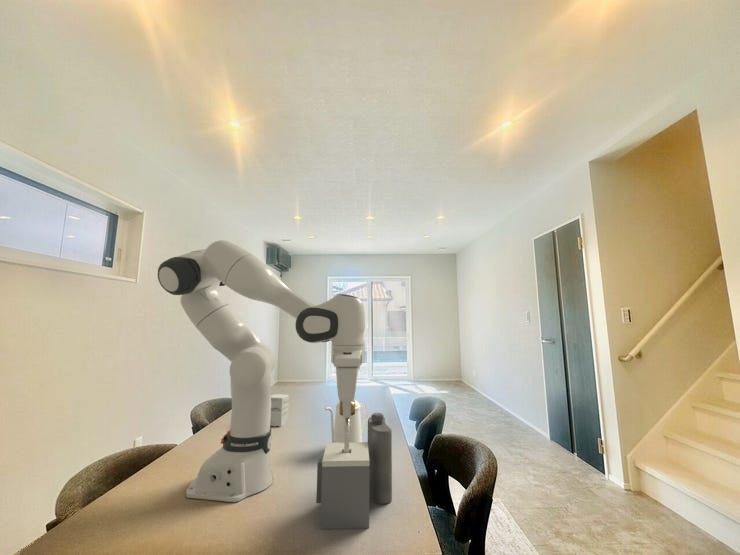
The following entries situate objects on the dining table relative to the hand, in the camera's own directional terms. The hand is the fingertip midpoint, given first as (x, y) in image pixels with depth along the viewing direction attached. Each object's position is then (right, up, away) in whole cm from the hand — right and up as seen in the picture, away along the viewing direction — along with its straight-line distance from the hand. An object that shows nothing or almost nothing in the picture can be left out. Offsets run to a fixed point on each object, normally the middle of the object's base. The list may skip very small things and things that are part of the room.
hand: (347, 411), depth 77 cm
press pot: (0, -23, -4) cm, 24 cm away
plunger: (0, -22, -3) cm, 22 cm away
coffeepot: (-3, -30, +34) cm, 45 cm away
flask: (+8, -25, +7) cm, 28 cm away
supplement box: (-37, -34, +62) cm, 80 cm away
